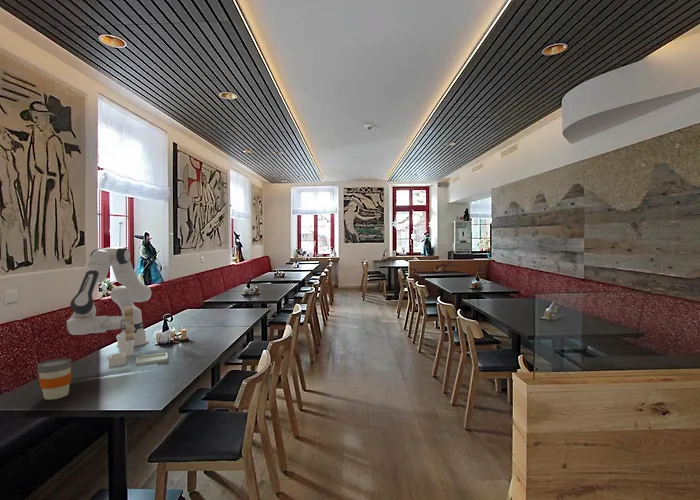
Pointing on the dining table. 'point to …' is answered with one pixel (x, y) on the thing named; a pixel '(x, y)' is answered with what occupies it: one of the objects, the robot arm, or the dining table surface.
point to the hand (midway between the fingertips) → (131, 321)
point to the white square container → (117, 359)
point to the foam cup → (125, 344)
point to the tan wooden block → (129, 327)
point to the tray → (152, 359)
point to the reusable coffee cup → (55, 377)
